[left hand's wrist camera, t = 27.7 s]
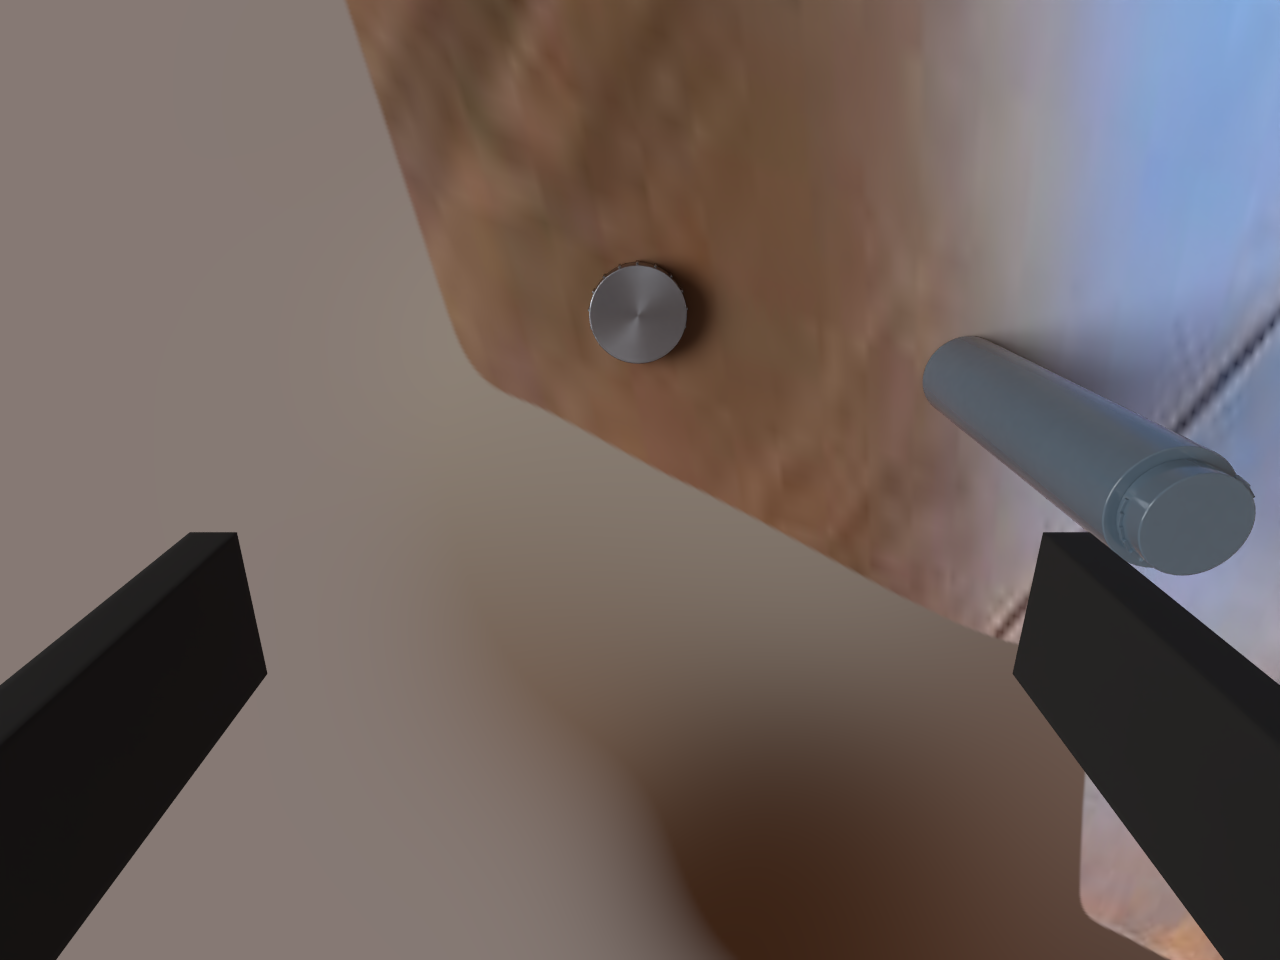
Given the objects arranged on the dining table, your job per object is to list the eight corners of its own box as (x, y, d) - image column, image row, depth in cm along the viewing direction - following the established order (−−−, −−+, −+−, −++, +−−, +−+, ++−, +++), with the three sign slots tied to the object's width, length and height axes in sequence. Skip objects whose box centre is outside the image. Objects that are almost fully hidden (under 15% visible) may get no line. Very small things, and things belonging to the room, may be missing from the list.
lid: (587, 260, 40) (585, 264, 39) (687, 259, 40) (689, 262, 39) (591, 358, 42) (589, 365, 41) (686, 357, 42) (687, 363, 41)
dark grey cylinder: (961, 430, 44) (1183, 611, 26) (905, 382, 43) (1095, 536, 25) (1021, 369, 42) (1299, 515, 25) (965, 318, 41) (1212, 432, 24)
